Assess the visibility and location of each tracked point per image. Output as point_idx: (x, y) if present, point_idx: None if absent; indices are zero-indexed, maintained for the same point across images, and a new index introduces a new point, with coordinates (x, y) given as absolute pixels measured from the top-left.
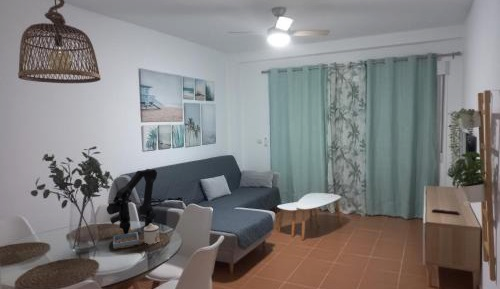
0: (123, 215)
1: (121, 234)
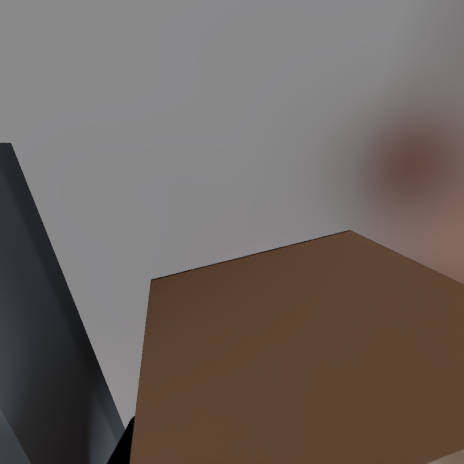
0: None
1: (19, 436)
